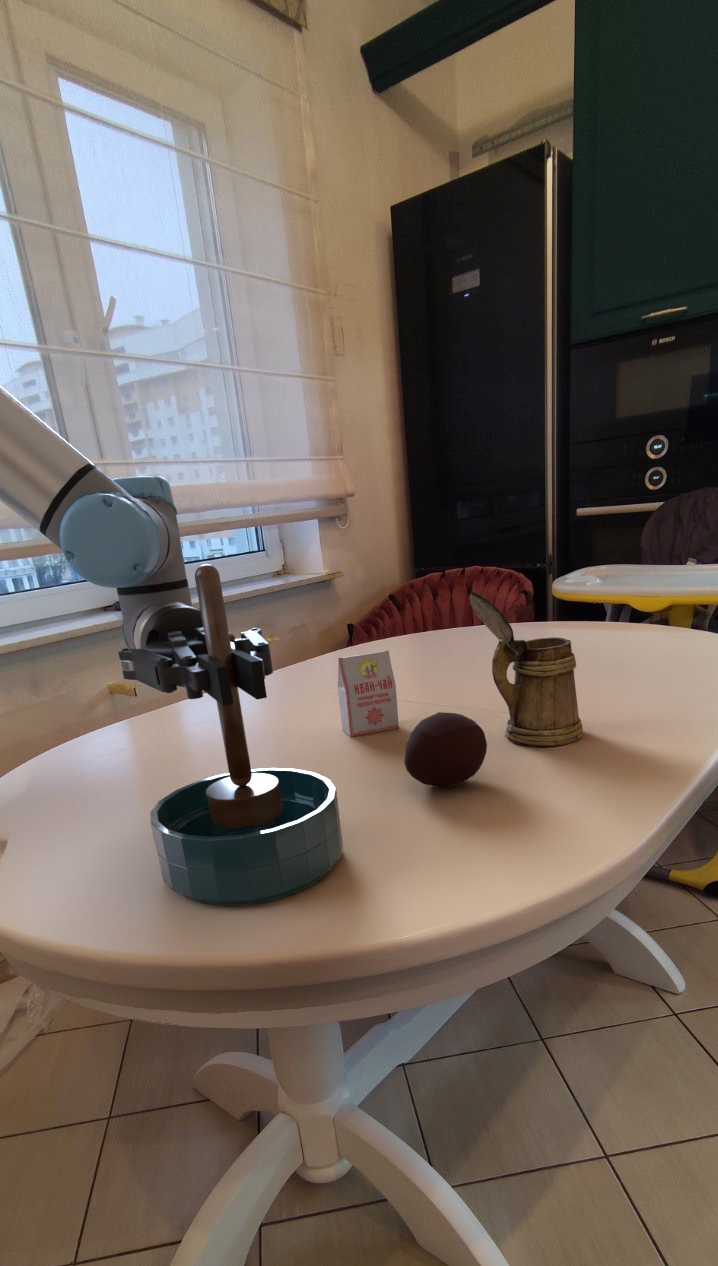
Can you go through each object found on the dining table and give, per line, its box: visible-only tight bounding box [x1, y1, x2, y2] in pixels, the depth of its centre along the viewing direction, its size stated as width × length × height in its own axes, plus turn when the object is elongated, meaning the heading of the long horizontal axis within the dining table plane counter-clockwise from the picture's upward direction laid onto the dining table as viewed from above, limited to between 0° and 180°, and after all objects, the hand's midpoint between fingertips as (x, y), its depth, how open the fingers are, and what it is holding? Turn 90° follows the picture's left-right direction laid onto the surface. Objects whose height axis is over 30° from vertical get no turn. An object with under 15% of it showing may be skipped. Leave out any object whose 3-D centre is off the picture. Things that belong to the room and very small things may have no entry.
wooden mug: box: [469, 590, 584, 748], centre depth 83 cm, size 9×14×18 cm, turn 106°
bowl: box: [149, 767, 343, 906], centre depth 61 cm, size 15×15×6 cm
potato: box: [403, 711, 488, 789], centre depth 74 cm, size 8×9×8 cm
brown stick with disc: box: [194, 563, 283, 828], centre depth 57 cm, size 6×6×20 cm
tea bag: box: [337, 650, 400, 738], centre depth 95 cm, size 4×7×10 cm, turn 108°
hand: (242, 683), depth 51 cm, fingers closed on brown stick with disc, 2 cm apart
